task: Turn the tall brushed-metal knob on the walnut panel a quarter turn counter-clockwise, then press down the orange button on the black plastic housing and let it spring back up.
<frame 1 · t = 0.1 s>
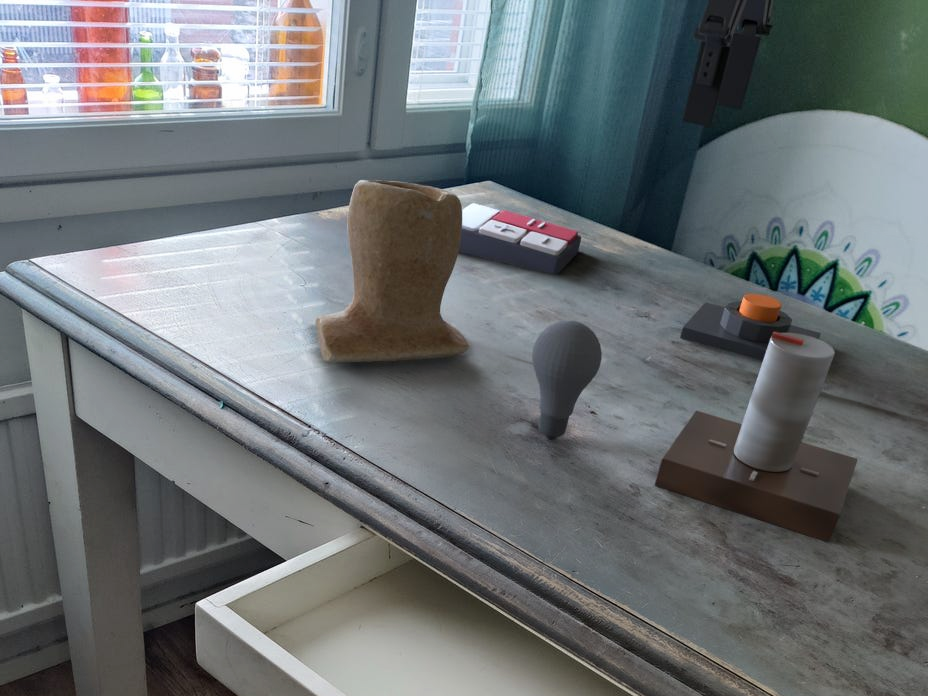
hand: (713, 115, 98), 21 cm above the table, tool pointing down, fingers open, 13 cm apart
dial: (782, 401, 77), point 7 cm above the table, hinge at 0.0°
light bulb: (549, 439, 84), on the table
button block: (746, 349, 106), on the table
plunger: (760, 308, 103), point 4 cm above the table, slide at 0.1 cm
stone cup: (383, 351, 95), on the table
dial panel: (753, 485, 81), on the table
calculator: (508, 259, 122), on the table
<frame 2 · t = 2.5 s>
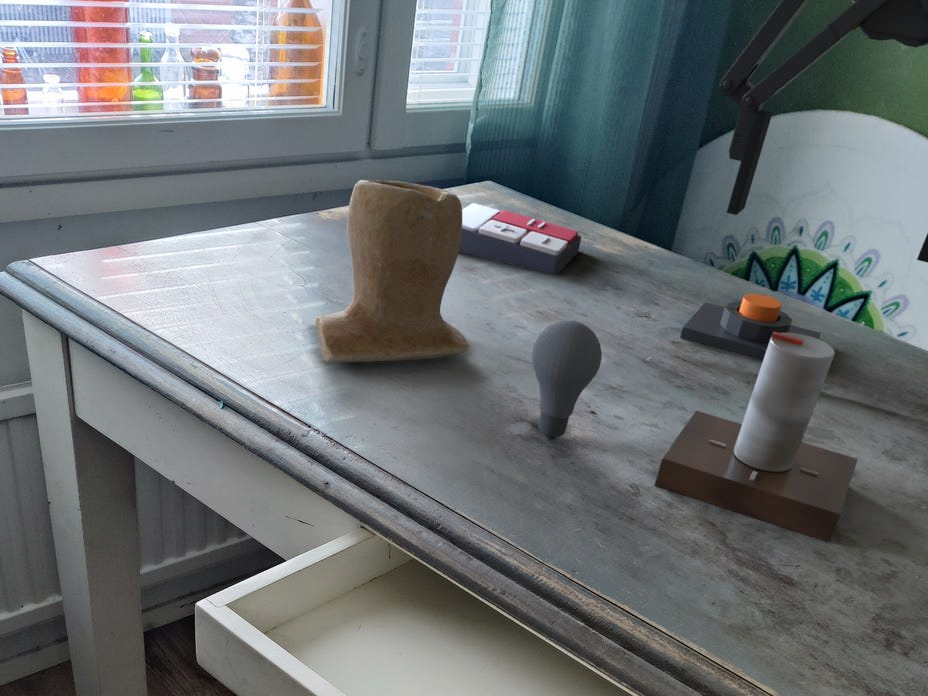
hand: (827, 233, 71), 19 cm above the table, tool pointing down, fingers open, 13 cm apart
nothing on the table moved.
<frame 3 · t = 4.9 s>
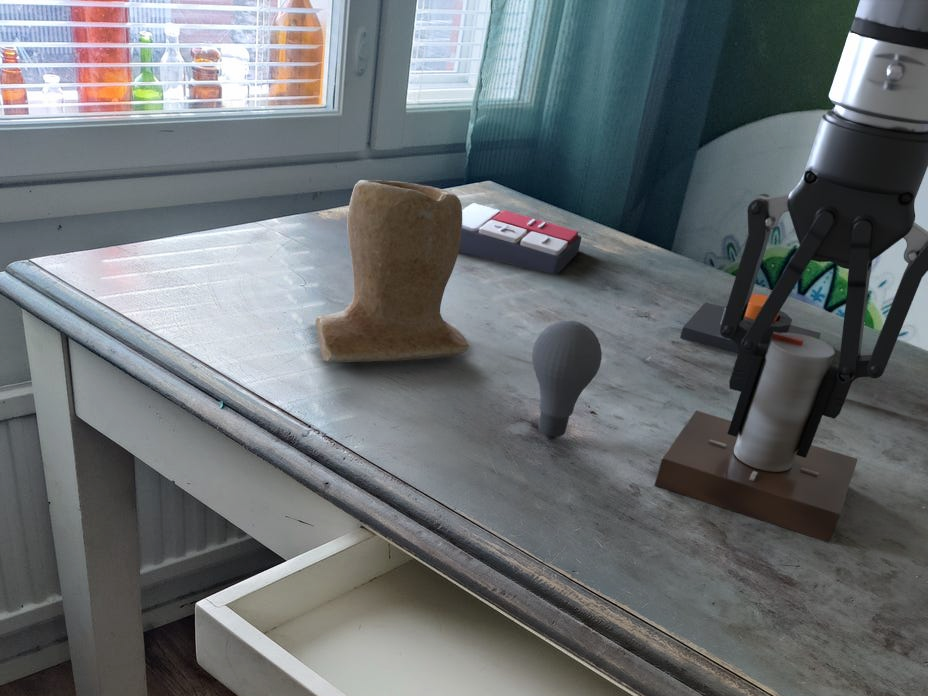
hand: (769, 439, 79), 4 cm above the table, tool pointing down, fingers closed on dial, 5 cm apart
dial: (782, 401, 77), point 7 cm above the table, hinge at 0.0°, touching gripper
everything else where it was.
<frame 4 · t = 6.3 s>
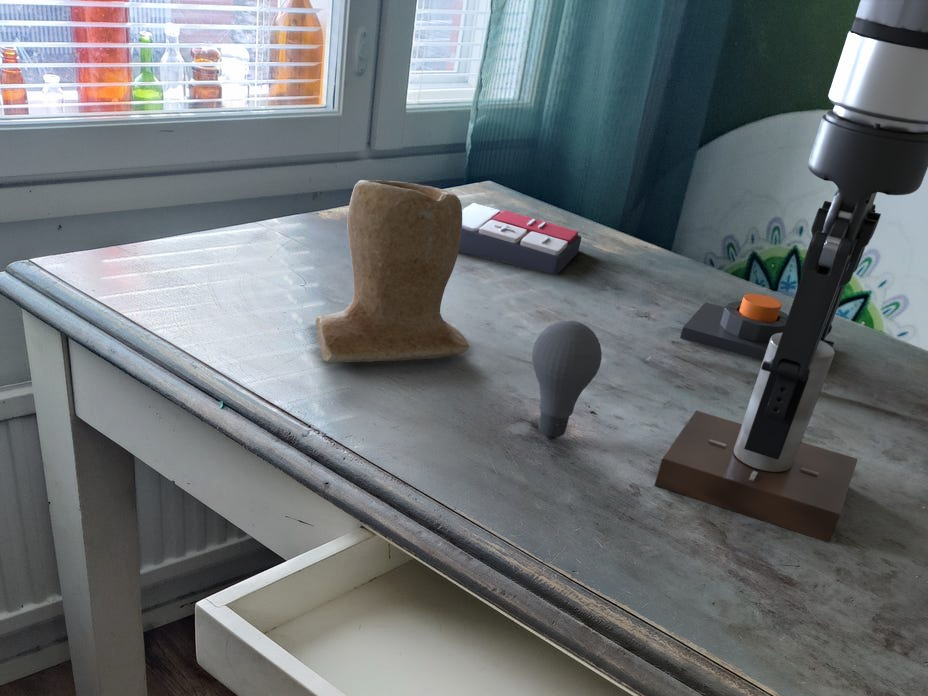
hand: (769, 439, 79), 4 cm above the table, tool pointing down, fingers closed on dial, 5 cm apart
dial: (782, 401, 77), point 7 cm above the table, hinge at 89.5°, touching gripper
everything else where it was.
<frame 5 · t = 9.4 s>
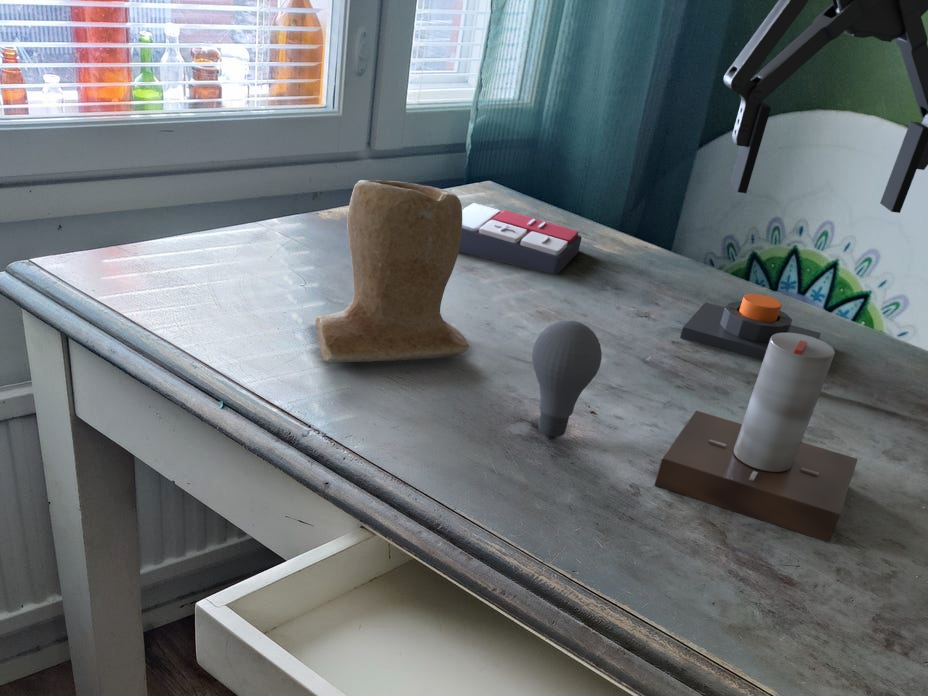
hand: (814, 199, 85), 18 cm above the table, tool pointing down, fingers open, 13 cm apart
dial: (782, 401, 77), point 7 cm above the table, hinge at 89.7°
everything else where it was.
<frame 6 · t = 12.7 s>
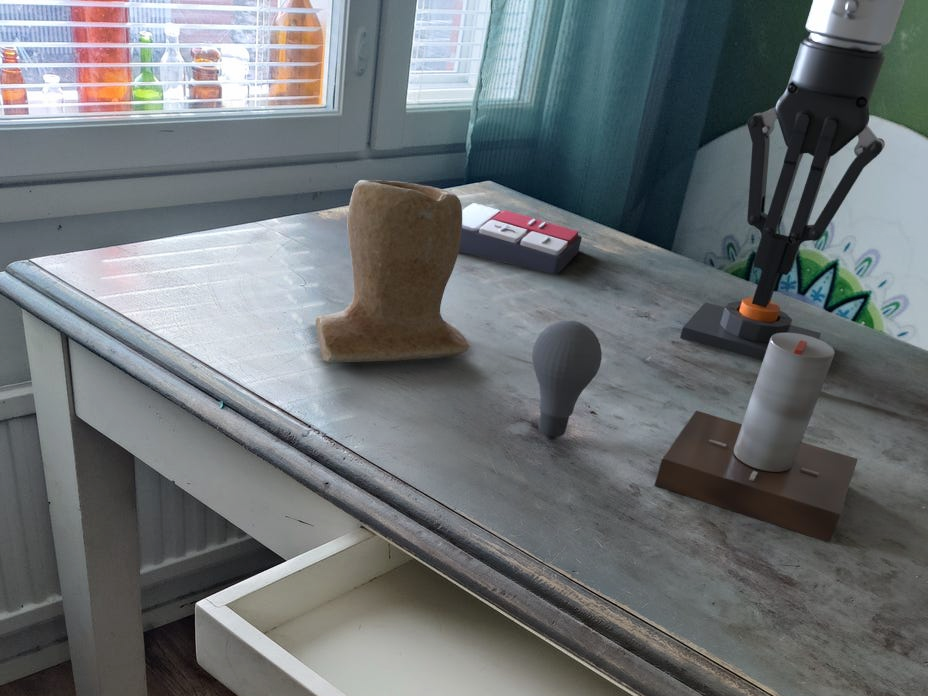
hand: (761, 301, 103), 5 cm above the table, tool pointing down, fingers closed
plunger: (758, 312, 104), point 4 cm above the table, slide at -0.3 cm, touching gripper
everything else where it was.
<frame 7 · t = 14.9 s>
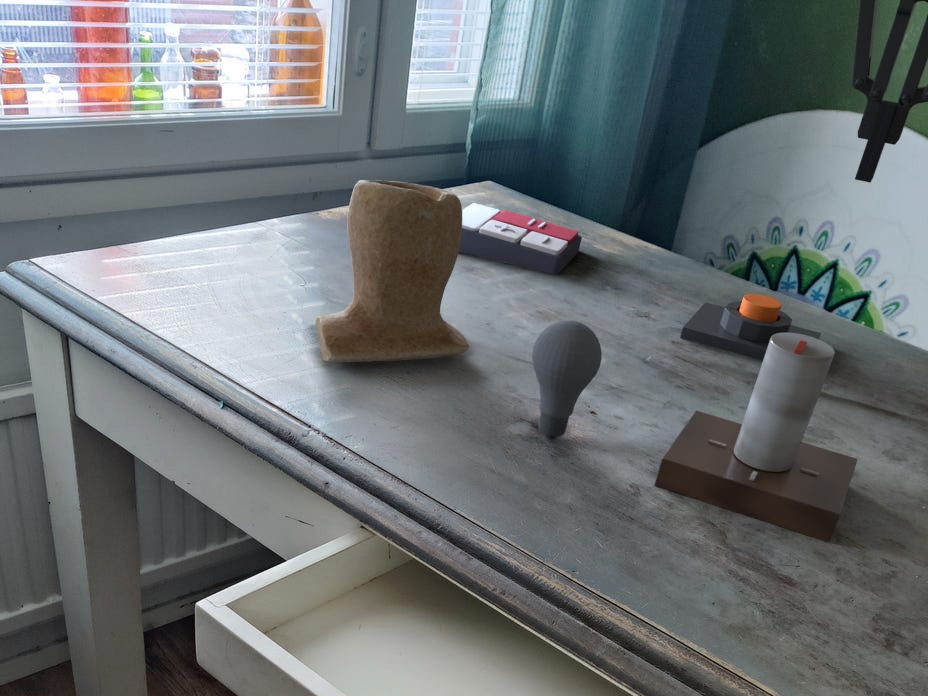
hand: (864, 178, 95), 18 cm above the table, tool pointing down, fingers closed
plunger: (760, 308, 103), point 4 cm above the table, slide at 0.1 cm
everything else where it was.
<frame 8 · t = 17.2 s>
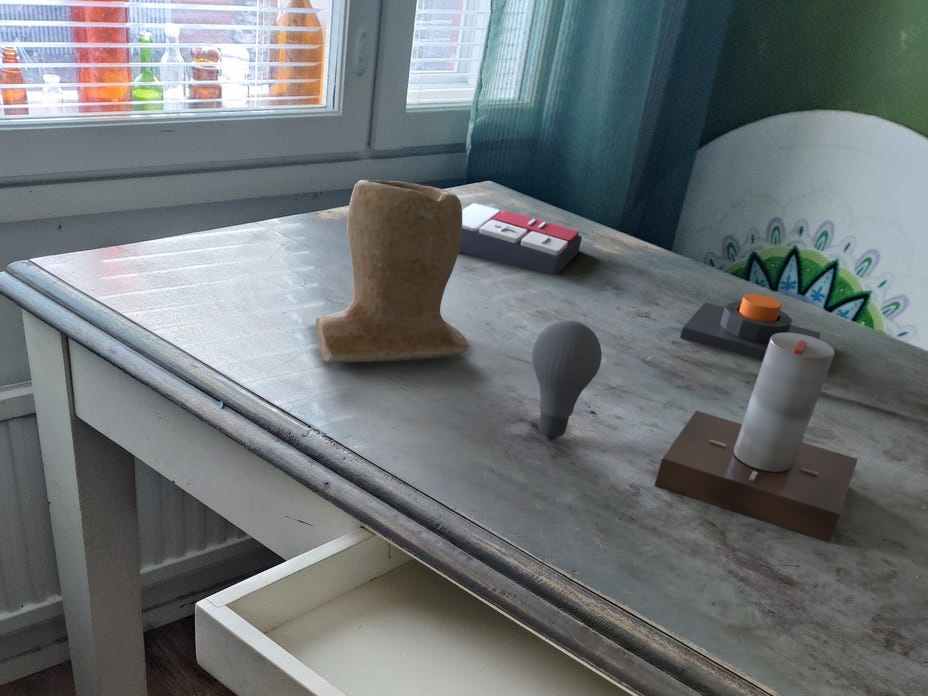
nothing on the table moved.
at the end: dial at +90° (first picture: +0°); plunger pushed in 1.0 cm at the most during the clip, back to where it started at the end; plunger slide at 0.1 cm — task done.
